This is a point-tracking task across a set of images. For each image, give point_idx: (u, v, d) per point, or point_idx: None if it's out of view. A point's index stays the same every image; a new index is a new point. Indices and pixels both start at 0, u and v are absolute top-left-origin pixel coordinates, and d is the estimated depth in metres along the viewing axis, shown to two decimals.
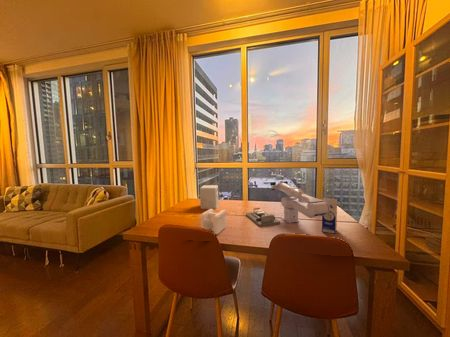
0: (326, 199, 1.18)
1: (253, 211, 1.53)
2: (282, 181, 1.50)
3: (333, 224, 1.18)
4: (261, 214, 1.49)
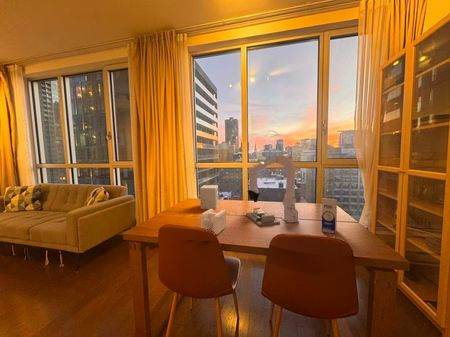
0: (325, 199, 1.18)
1: (253, 211, 1.53)
2: None
3: (333, 224, 1.17)
4: (261, 214, 1.49)
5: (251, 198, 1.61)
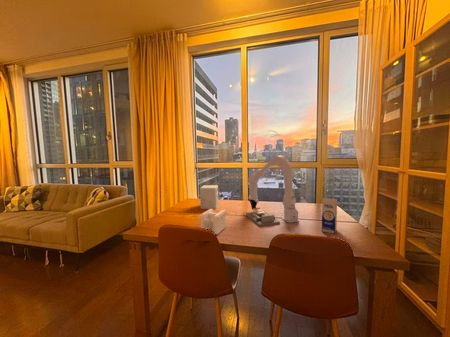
0: (326, 199, 1.19)
1: (253, 211, 1.53)
2: None
3: (333, 224, 1.18)
4: (261, 214, 1.49)
5: None
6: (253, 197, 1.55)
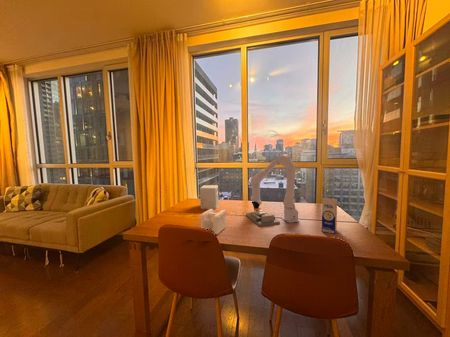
0: (326, 199, 1.19)
1: (254, 211, 1.52)
2: (251, 199, 1.53)
3: (333, 224, 1.18)
4: (262, 214, 1.48)
5: None
6: (256, 198, 1.51)
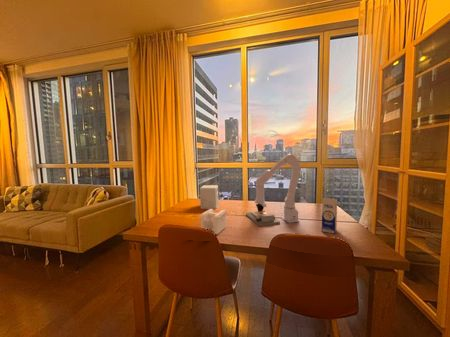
0: (326, 199, 1.19)
1: None
2: (255, 201, 1.46)
3: (333, 224, 1.18)
4: None
5: None
6: (260, 201, 1.43)
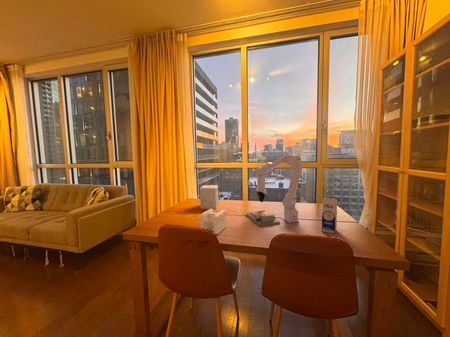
0: (326, 199, 1.19)
1: None
2: (256, 189, 1.54)
3: (333, 224, 1.18)
4: None
5: None
6: (261, 189, 1.52)
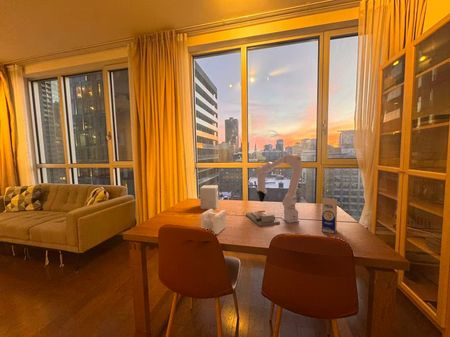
0: (326, 199, 1.19)
1: None
2: (256, 189, 1.55)
3: (333, 224, 1.18)
4: None
5: None
6: (261, 188, 1.52)
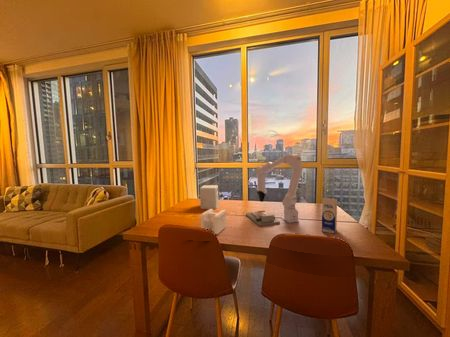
0: (326, 199, 1.19)
1: None
2: (256, 189, 1.55)
3: (333, 224, 1.18)
4: None
5: None
6: (261, 188, 1.52)
